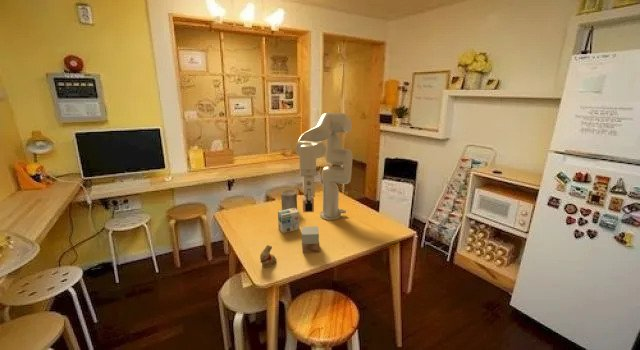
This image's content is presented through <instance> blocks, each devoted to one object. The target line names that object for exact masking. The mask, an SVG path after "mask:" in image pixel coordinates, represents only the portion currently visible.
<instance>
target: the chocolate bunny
mask: <svg viewBox="0 0 640 350" xmlns="http://www.w3.org/2000/svg"><path fill="white" fill-rule="evenodd" d="M272 249H273V247H272V245H269V244H267V245H266V246H265V248H264V249H263V250H262V251H261V253H260V255H259V256H260V257H259V259H260V263H261V267H262V268H263V269H266V268H267V269H268V268H271V267H272V266H274V265H275V264H276V263H277V258H276V256H275V254H271V250H272Z"/></svg>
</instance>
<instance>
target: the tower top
mask: <svg viewBox="0 0 640 350" xmlns="http://www.w3.org/2000/svg"><path fill="white" fill-rule="evenodd" d="M319 238H320V234H319V226H301V245H302V244H319V245H320V241H319V240H320V239H319Z"/></svg>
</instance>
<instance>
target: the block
mask: <svg viewBox="0 0 640 350" xmlns="http://www.w3.org/2000/svg"><path fill="white" fill-rule="evenodd" d="M307 197H308V196H307ZM307 199H308V198H307ZM314 199H315V197H312V211H305V203H306V198H305V197H304V196H302V213H314V212H315V200H314Z"/></svg>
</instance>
